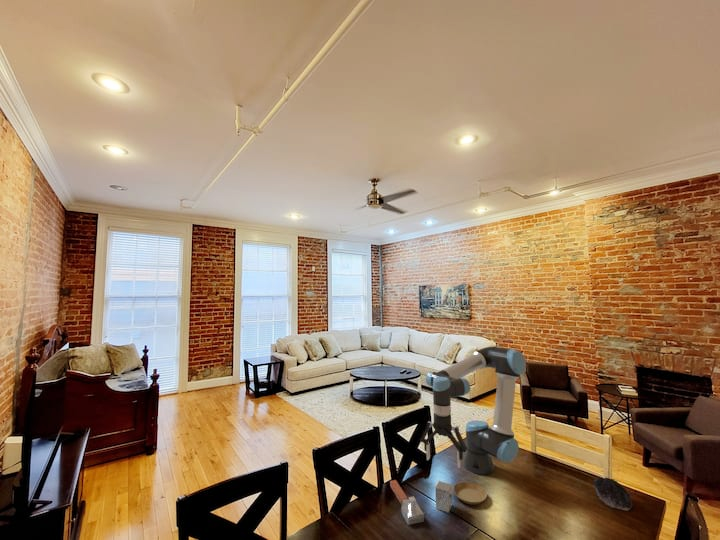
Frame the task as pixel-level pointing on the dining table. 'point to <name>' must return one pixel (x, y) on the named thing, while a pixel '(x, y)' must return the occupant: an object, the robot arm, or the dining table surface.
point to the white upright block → (443, 496)
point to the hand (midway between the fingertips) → (443, 462)
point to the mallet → (407, 505)
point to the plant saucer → (469, 492)
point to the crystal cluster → (613, 493)
